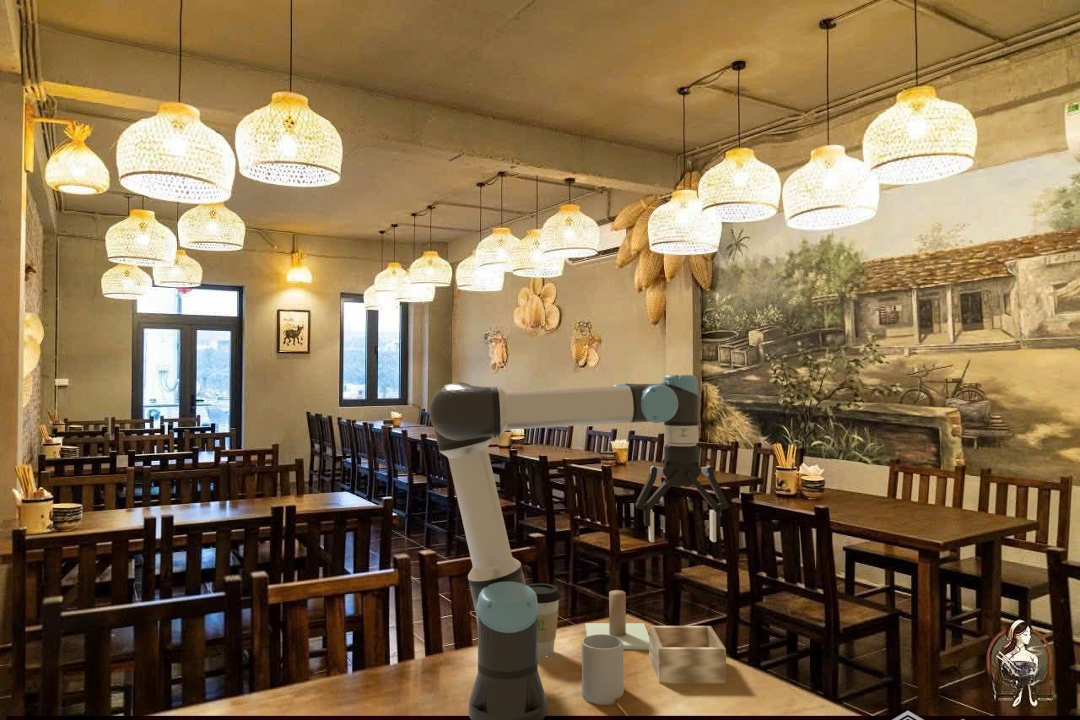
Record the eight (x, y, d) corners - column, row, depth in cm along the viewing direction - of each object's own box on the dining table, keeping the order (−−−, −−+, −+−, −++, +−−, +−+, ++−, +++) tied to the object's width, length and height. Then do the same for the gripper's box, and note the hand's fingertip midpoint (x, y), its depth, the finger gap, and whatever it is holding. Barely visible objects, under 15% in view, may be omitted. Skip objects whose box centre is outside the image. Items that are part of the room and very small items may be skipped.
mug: (625, 705, 141) (625, 649, 141) (582, 705, 141) (582, 649, 141) (620, 680, 153) (620, 628, 153) (580, 679, 153) (580, 628, 153)
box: (659, 687, 149) (658, 649, 149) (649, 661, 163) (649, 625, 163) (726, 687, 149) (725, 649, 149) (710, 661, 163) (710, 625, 163)
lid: (588, 654, 168) (588, 602, 168) (585, 631, 183) (585, 583, 183) (652, 654, 167) (652, 602, 168) (644, 631, 182) (643, 583, 183)
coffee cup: (514, 647, 171) (514, 584, 172) (553, 642, 174) (553, 581, 175) (526, 663, 162) (525, 596, 162) (566, 658, 165) (566, 592, 165)
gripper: (627, 446, 154) (627, 544, 154) (742, 445, 154) (743, 544, 154) (623, 443, 162) (623, 537, 161) (732, 442, 162) (733, 536, 161)
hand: (682, 541), depth 157 cm, fingers open, 13 cm apart
